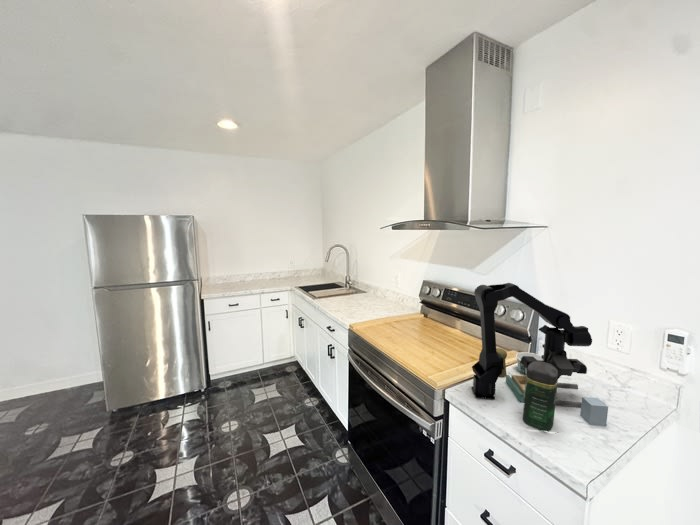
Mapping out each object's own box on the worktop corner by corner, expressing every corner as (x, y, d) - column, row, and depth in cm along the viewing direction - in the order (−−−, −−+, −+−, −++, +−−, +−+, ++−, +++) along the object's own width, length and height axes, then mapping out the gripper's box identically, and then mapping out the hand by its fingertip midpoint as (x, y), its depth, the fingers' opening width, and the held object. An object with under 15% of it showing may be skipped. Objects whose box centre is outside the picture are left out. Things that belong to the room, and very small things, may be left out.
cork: (508, 379, 115) (510, 353, 113) (492, 378, 116) (493, 352, 114) (504, 372, 120) (505, 347, 119) (488, 371, 122) (489, 345, 120)
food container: (530, 364, 127) (531, 350, 126) (556, 378, 116) (557, 363, 115) (507, 368, 124) (508, 353, 123) (532, 382, 112) (533, 366, 112)
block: (589, 426, 88) (591, 405, 87) (579, 417, 92) (582, 396, 91) (605, 428, 87) (608, 406, 86) (595, 418, 91) (598, 397, 91)
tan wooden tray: (522, 400, 100) (523, 389, 99) (510, 384, 110) (511, 374, 109) (554, 403, 98) (555, 391, 98) (540, 386, 108) (541, 376, 108)
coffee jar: (551, 436, 84) (557, 375, 81) (520, 424, 89) (524, 367, 86) (555, 419, 91) (560, 363, 89) (525, 409, 96) (530, 356, 94)
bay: (516, 406, 98) (516, 396, 97) (499, 381, 113) (500, 372, 113) (603, 414, 93) (604, 403, 93) (573, 387, 109) (574, 378, 109)
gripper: (535, 353, 95) (532, 398, 96) (600, 357, 92) (595, 403, 93) (521, 340, 105) (518, 380, 107) (578, 343, 102) (574, 384, 104)
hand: (550, 387), depth 103 cm, fingers closed
